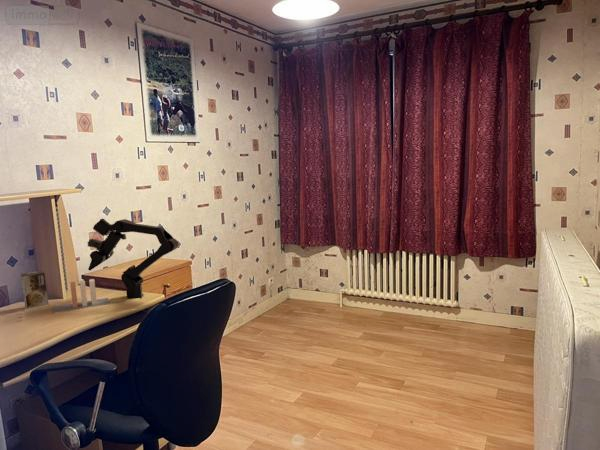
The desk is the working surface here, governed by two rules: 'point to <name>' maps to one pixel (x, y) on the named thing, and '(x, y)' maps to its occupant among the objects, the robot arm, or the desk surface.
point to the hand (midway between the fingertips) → (92, 268)
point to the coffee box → (34, 289)
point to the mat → (79, 305)
